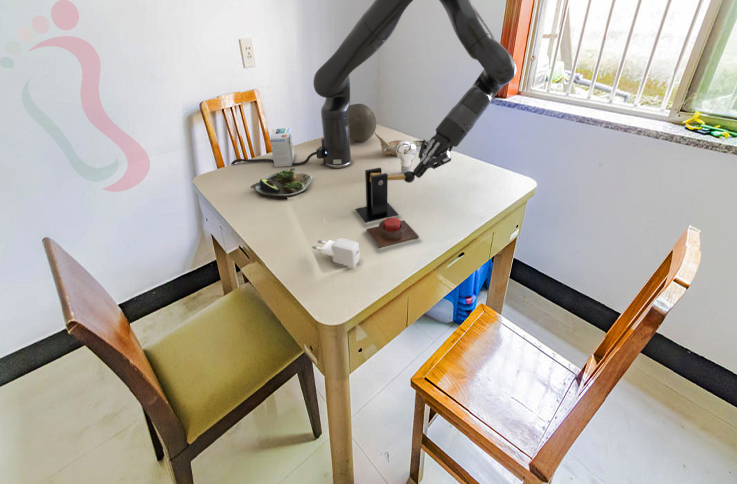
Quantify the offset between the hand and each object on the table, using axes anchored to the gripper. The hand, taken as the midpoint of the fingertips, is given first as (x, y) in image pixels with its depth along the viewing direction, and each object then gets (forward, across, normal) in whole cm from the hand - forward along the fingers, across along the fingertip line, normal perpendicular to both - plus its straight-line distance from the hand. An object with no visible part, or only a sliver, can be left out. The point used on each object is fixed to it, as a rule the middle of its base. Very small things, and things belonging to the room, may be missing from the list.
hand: (415, 175), depth 105 cm
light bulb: (+2, -21, +13) cm, 25 cm away
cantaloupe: (+4, -57, +10) cm, 58 cm away
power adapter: (+27, +15, -14) cm, 34 cm away
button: (+14, +12, -5) cm, 19 cm away
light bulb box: (+26, -51, -13) cm, 59 cm away
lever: (+5, 0, -5) cm, 7 cm away
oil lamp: (-3, -39, +18) cm, 43 cm away
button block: (+16, +12, -2) cm, 20 cm away
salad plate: (+30, -29, -17) cm, 45 cm away
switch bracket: (+15, 0, -2) cm, 16 cm away
